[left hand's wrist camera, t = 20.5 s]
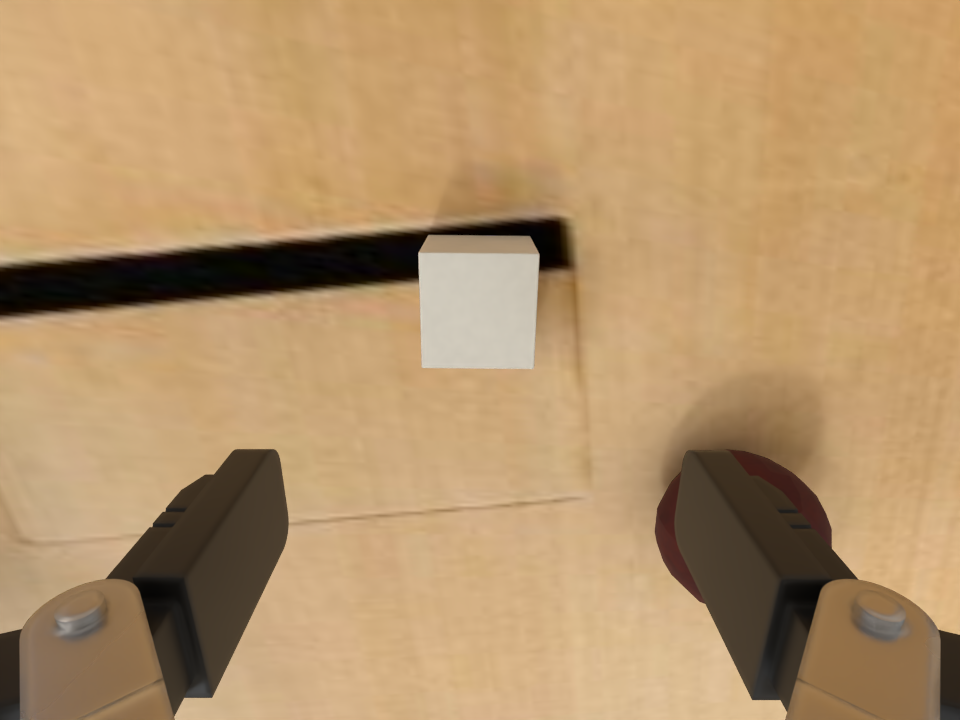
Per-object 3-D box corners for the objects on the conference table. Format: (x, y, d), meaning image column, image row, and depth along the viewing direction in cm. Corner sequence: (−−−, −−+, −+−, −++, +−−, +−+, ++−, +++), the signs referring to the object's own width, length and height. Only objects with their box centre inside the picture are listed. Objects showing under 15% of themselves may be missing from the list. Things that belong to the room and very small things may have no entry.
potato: (803, 501, 31) (890, 598, 25) (676, 565, 33) (726, 673, 26) (746, 400, 29) (824, 477, 22) (613, 474, 31) (649, 566, 24)
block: (526, 335, 28) (534, 369, 24) (430, 334, 28) (421, 368, 24) (530, 235, 26) (539, 253, 22) (428, 234, 26) (418, 252, 22)
